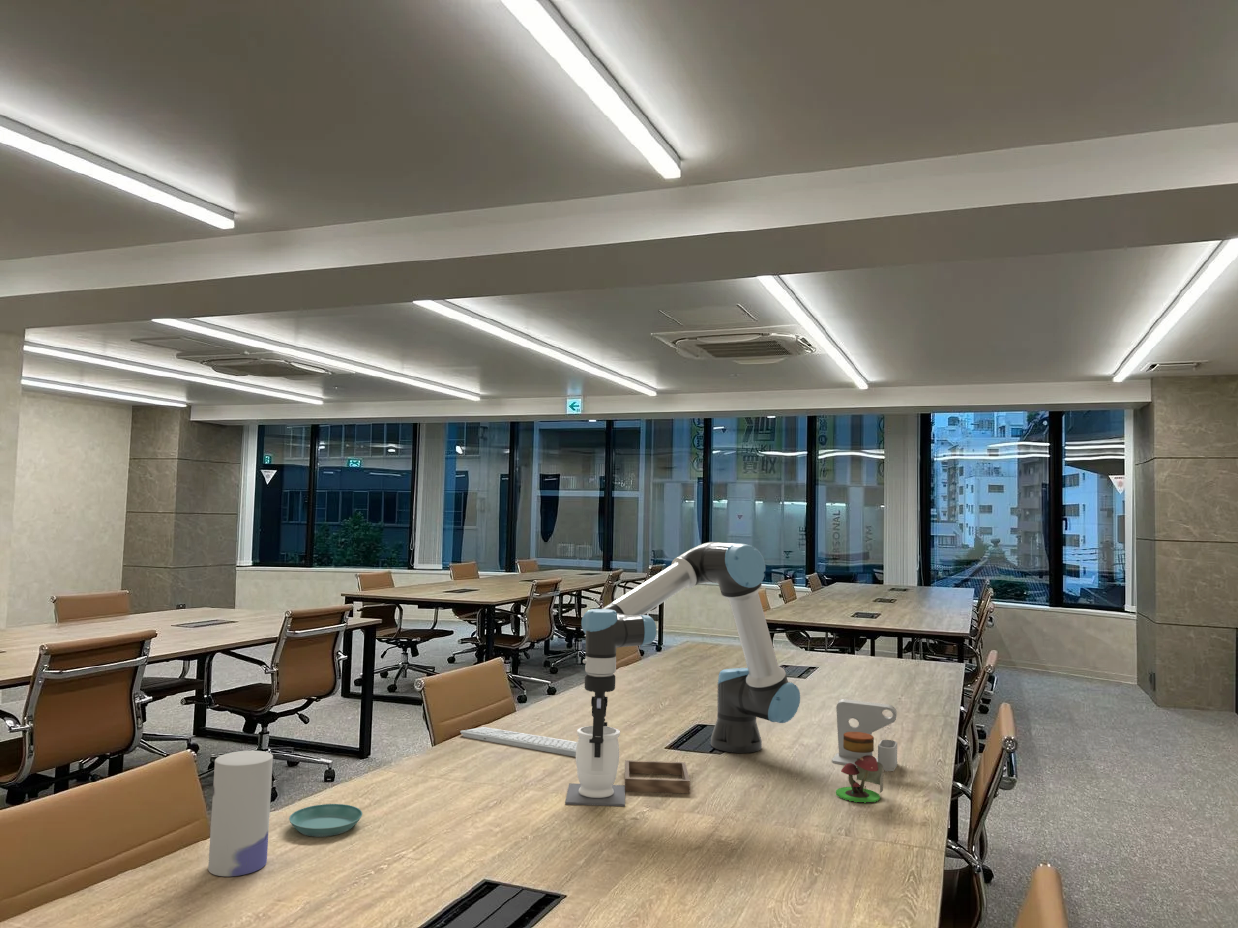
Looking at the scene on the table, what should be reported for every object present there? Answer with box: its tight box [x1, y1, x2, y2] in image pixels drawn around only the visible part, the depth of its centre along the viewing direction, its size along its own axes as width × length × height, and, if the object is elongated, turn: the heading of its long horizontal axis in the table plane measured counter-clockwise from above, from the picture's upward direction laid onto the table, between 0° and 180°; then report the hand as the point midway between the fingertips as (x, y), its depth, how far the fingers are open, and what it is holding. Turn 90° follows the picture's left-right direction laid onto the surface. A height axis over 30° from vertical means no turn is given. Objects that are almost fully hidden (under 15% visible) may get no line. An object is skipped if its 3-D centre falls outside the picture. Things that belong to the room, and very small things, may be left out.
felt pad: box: [564, 783, 626, 807], centre depth 203 cm, size 14×14×1 cm
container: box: [207, 750, 274, 877], centre depth 157 cm, size 10×10×20 cm
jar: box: [575, 725, 621, 798], centre depth 204 cm, size 11×10×15 cm
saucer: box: [288, 803, 363, 838], centre depth 178 cm, size 15×15×3 cm
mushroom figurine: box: [835, 732, 885, 804], centre depth 209 cm, size 12×13×15 cm
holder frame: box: [624, 759, 691, 794], centre depth 215 cm, size 16×16×3 cm
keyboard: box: [459, 726, 578, 758], centre depth 249 cm, size 44×12×2 cm, turn 64°
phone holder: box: [831, 698, 898, 772], centre depth 239 cm, size 17×10×18 cm, turn 65°
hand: (597, 762), depth 204 cm, fingers open, 13 cm apart
